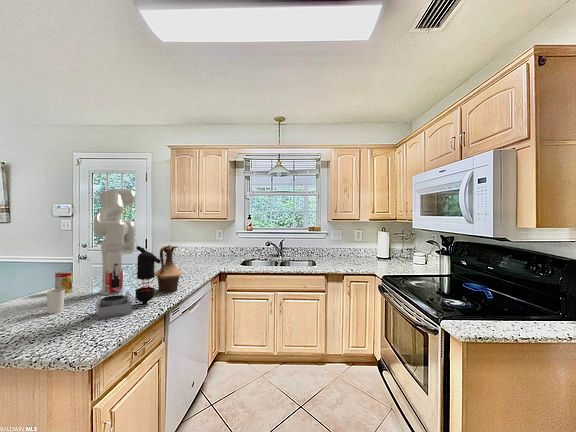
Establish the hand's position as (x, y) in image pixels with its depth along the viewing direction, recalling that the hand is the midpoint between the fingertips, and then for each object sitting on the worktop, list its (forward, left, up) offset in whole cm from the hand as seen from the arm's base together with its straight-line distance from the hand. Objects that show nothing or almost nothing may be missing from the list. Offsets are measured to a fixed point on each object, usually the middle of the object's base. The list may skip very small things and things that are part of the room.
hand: (113, 285), depth 134 cm
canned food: (-58, -17, -13) cm, 62 cm away
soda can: (0, 0, -3) cm, 3 cm away
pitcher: (-28, +33, -13) cm, 45 cm away
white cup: (-18, -21, -13) cm, 31 cm away
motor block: (0, 0, -13) cm, 13 cm away
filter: (-6, +16, -13) cm, 21 cm away
